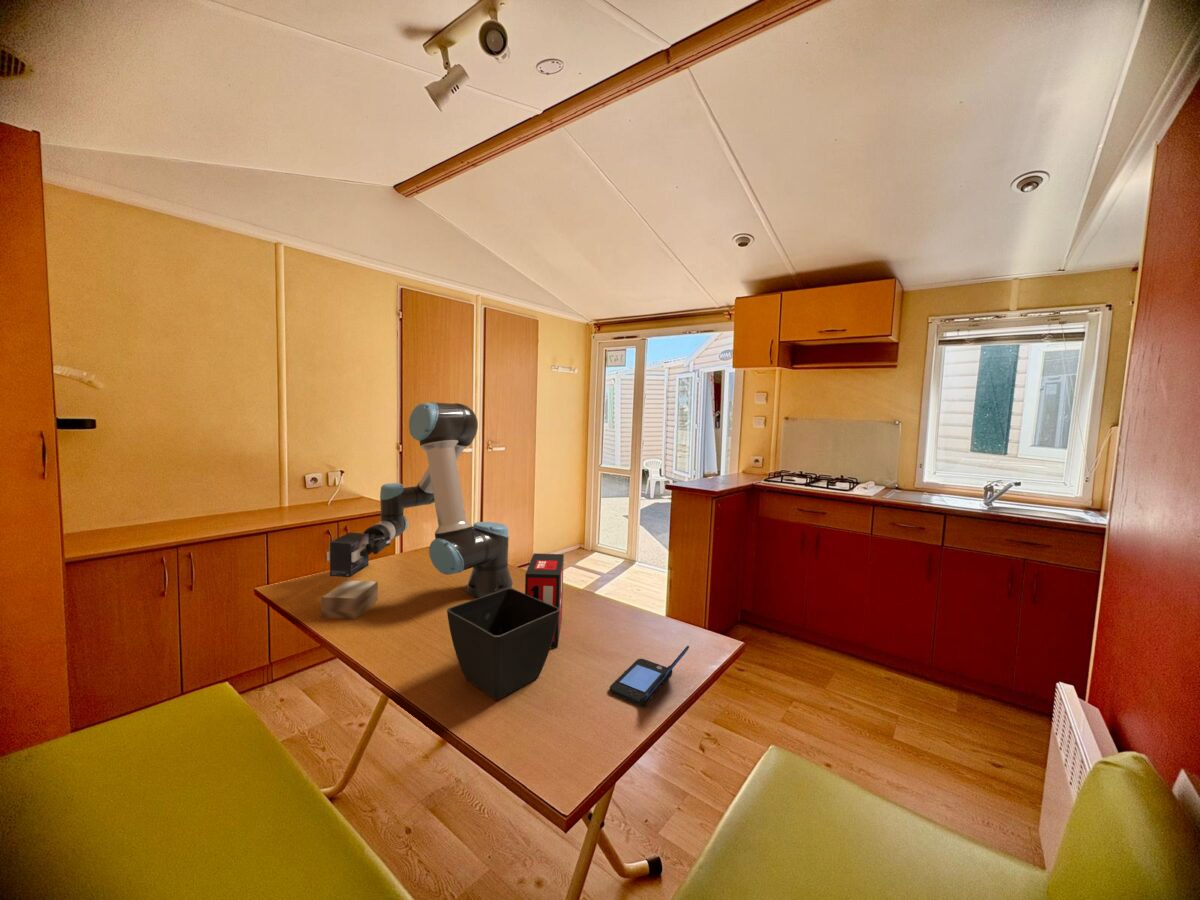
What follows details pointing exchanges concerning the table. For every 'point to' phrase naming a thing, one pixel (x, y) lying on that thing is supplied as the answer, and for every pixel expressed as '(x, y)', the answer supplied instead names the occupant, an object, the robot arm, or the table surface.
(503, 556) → the robot arm
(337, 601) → the base
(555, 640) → the cleaning product box
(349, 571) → the small box
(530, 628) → the flower pot
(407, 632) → the table surface
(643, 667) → the black walkie-talkie
